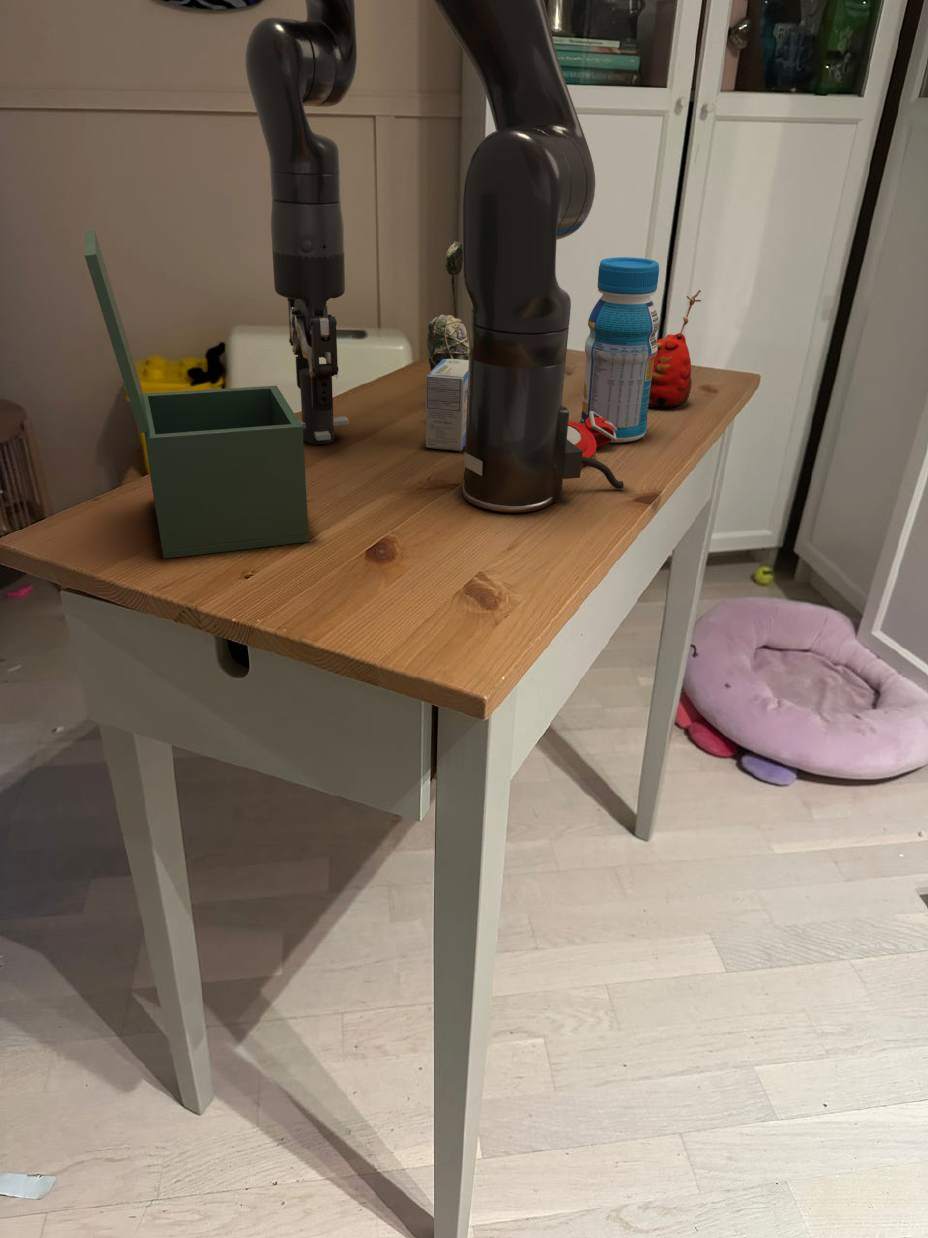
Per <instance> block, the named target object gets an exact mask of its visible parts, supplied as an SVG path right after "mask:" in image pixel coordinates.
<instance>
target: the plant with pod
mask: <svg viewBox="0 0 928 1238" xmlns="http://www.w3.org/2000/svg"><path fill="white" fill-rule="evenodd" d="M444 264H445V268H446V272H447V273H448V275H451V292H452V293H451V294H452V305H453V306H452V307H453V313H454V314H453V315H451V314H448V315H445V314H440V315H439V316H436V317H434V319H432V320H431V321H430V322H429V324H428V328H427V329H428V334H427V340H426V346H427V353H428V363H429V369H430V372H431V371H432V370H433V369H434V368H435V367H436V366H437V365H438V364H439V363H440V361H441V360H442V359H460V360H469V340H470V337H469V335H468V330H467V328H466V327H465V324H464V322H463V321H462V319H460V318H459V317H458V318H457V305H456V304H457V303H456V302H457V301H456V293H455V291H456V288H455V286H456V284H455V283H456V276H459V274H460V273H461V271H462V270H463V243H461V242H459V241H453V243H452V244H451V245H450V246H449V247H448V249H447V251H446V253H445V259H444ZM426 318H429V316H428V315H427V316H426Z"/></svg>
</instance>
